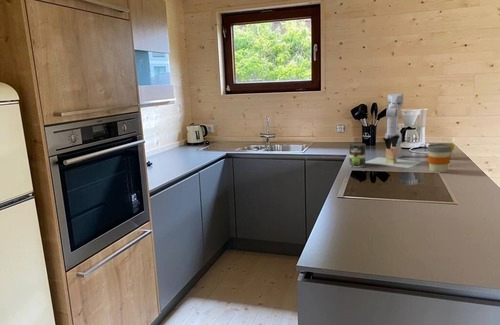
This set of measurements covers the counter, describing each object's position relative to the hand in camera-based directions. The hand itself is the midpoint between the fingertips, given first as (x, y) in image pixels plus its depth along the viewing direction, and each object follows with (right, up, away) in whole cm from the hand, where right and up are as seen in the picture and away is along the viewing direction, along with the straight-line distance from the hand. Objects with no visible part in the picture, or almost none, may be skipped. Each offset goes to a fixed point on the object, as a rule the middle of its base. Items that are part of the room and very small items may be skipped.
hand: (391, 147), depth 245 cm
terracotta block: (0, -5, +1) cm, 5 cm away
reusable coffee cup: (+19, -15, -23) cm, 33 cm away
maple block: (+1, -10, +2) cm, 10 cm away
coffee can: (-21, -12, +2) cm, 24 cm away
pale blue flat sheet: (+2, -10, +4) cm, 11 cm away
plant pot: (+38, -7, +7) cm, 39 cm away
